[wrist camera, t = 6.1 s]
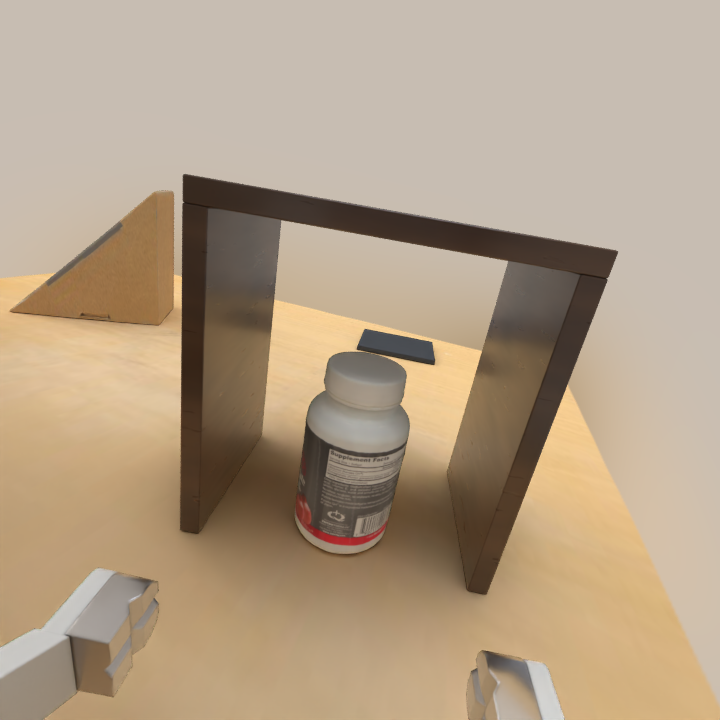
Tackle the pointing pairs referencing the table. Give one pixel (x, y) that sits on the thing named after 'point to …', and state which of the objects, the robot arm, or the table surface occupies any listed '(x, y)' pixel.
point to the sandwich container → (117, 271)
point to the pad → (397, 346)
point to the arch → (492, 379)
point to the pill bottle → (352, 453)
